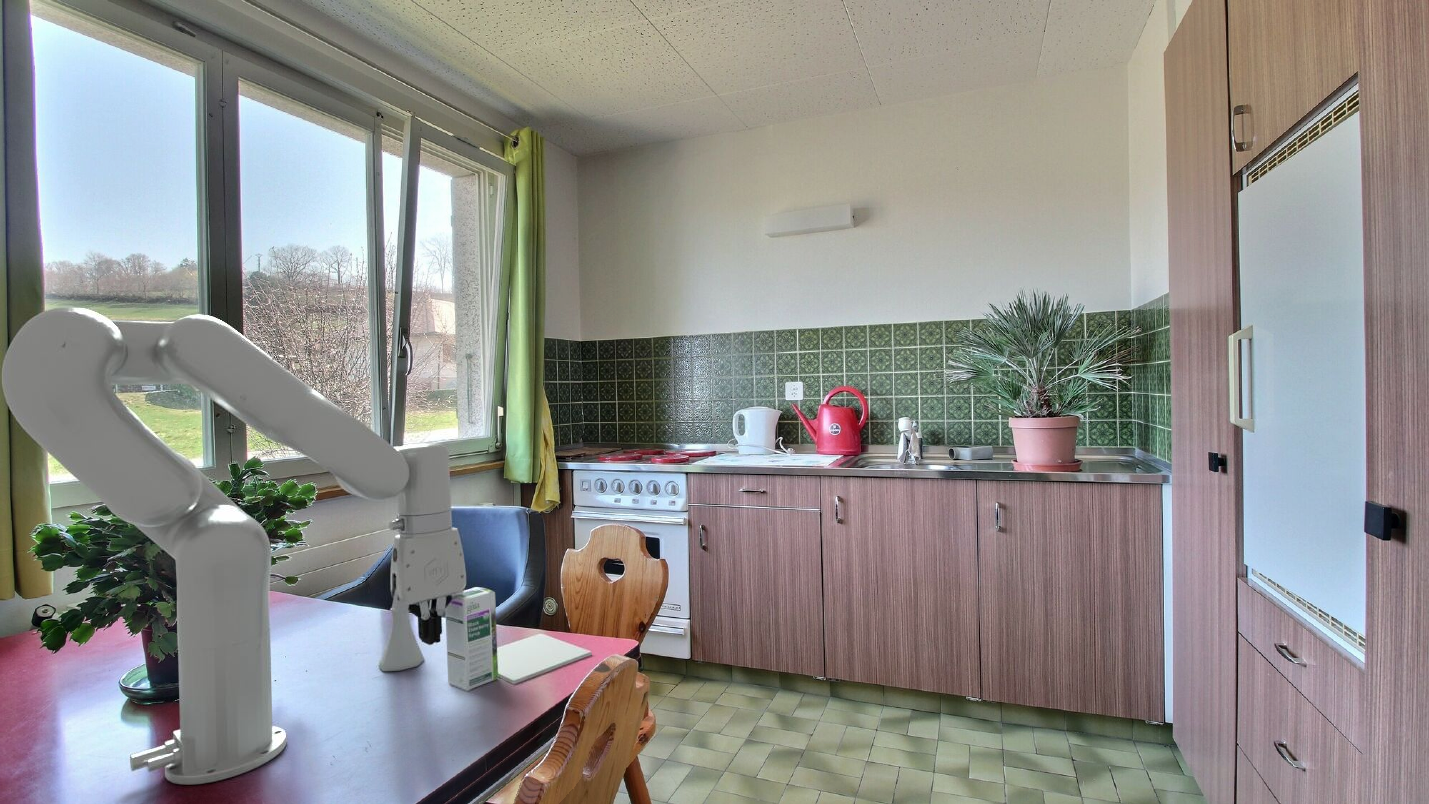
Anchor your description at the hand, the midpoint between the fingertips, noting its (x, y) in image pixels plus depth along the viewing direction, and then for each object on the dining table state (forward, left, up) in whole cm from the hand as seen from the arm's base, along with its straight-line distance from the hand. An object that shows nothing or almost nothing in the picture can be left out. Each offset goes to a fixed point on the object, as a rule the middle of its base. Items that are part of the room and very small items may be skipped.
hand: (430, 641), depth 102 cm
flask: (+3, +17, -9) cm, 19 cm away
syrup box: (+7, 0, -9) cm, 11 cm away
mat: (+18, +1, -8) cm, 20 cm away
